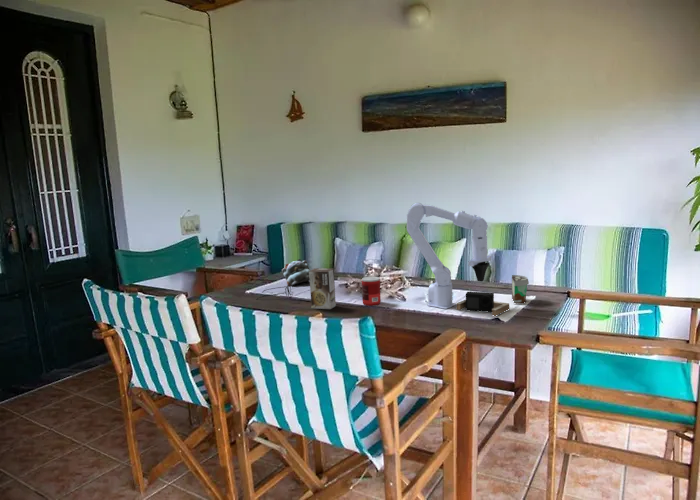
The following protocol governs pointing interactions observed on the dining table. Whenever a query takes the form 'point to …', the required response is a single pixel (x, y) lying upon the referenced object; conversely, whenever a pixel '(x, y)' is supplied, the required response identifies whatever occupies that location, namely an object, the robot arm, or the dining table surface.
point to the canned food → (371, 291)
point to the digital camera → (479, 301)
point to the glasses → (280, 293)
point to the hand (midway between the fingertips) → (480, 280)
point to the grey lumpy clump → (296, 272)
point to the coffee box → (322, 288)
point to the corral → (497, 309)
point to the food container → (519, 288)
